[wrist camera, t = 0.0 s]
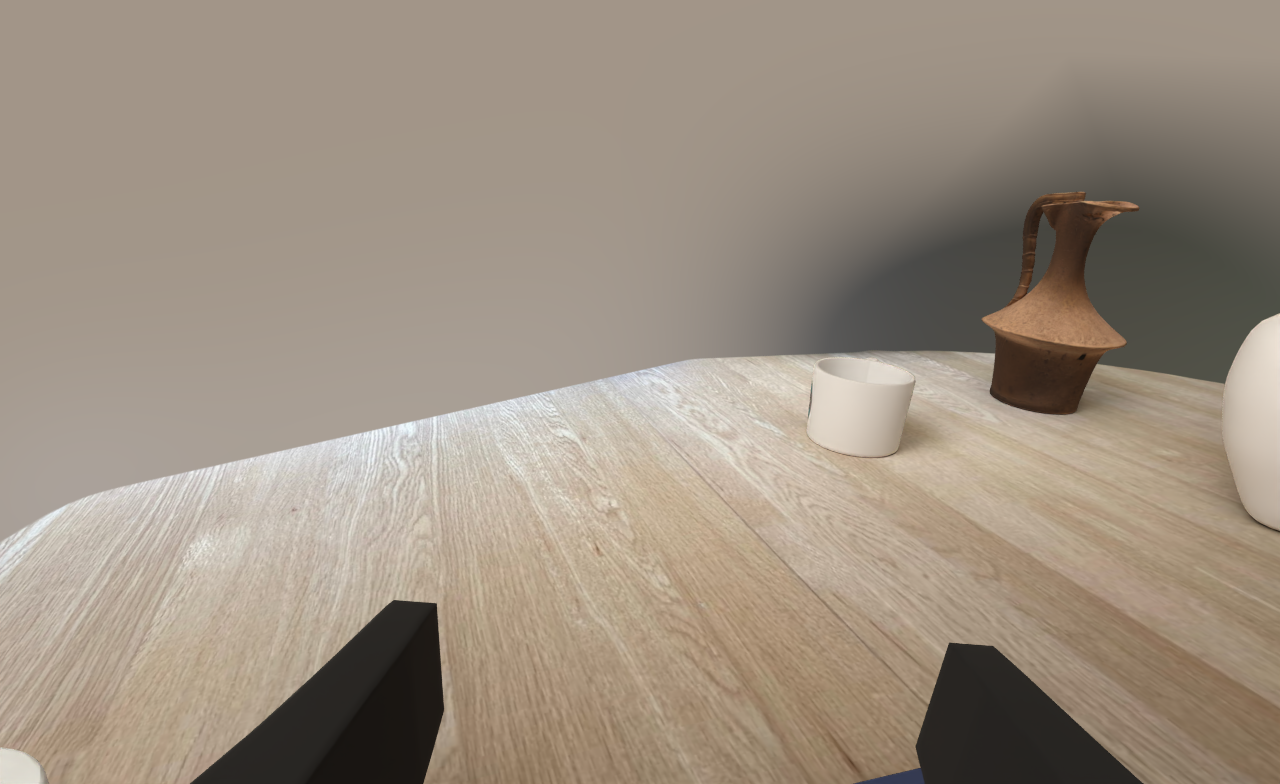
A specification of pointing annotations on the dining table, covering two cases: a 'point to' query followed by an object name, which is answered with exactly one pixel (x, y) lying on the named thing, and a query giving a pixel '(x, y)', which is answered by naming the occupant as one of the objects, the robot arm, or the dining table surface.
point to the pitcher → (1053, 312)
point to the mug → (858, 406)
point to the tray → (899, 778)
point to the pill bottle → (20, 768)
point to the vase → (1255, 422)
